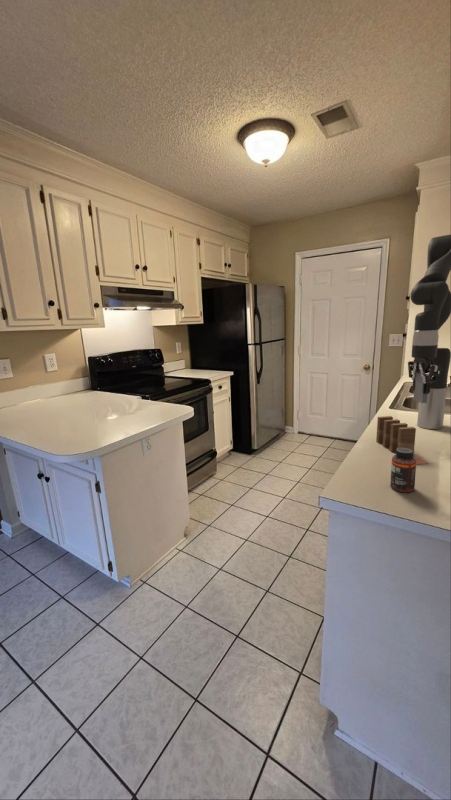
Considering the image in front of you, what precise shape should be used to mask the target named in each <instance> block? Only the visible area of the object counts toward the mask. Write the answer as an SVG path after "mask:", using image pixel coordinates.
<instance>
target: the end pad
mask: <svg viewBox="0 0 451 800" xmlns="http://www.w3.org/2000/svg"><path fill="white" fill-rule="evenodd" d="M413 457H414V458H415V459H416V465H427V464H428V462H427V461H426V460H424V459H422V458H421V457H420V456H413Z"/></svg>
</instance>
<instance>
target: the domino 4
mask: <svg viewBox="0 0 451 800" xmlns="http://www.w3.org/2000/svg"><path fill="white" fill-rule="evenodd" d="M416 430H417V428H416V427H414V426H408V427H403V428H399V430H398V443H397V448H409V449H411V450H412V451H413V457H415V456H414V455H415V444H416V432H417V431H416Z"/></svg>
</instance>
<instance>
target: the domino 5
mask: <svg viewBox="0 0 451 800" xmlns="http://www.w3.org/2000/svg"><path fill="white" fill-rule="evenodd" d="M426 378H428V376H426ZM422 390H423V377H421V373H417V374H416V377H415V388H414V391H413V398H412V399H413V401H416V402H418V403H419V402H420V403H427V394H423V393H422Z"/></svg>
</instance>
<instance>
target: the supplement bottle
mask: <svg viewBox="0 0 451 800" xmlns="http://www.w3.org/2000/svg"><path fill="white" fill-rule="evenodd" d="M414 457H415V456H413V451H412V450H411V449H409V448H397V449H396V452H395V455H393V456H392V458H391V469H390V470H391V471H390V483H389V484H390V488H392V490H394V491H397V492H399V493H400V492H401V493H411V492H413V491H414V490H415V485H416V472H417V471H416V470H417V464H416V459H415V458H414Z"/></svg>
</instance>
